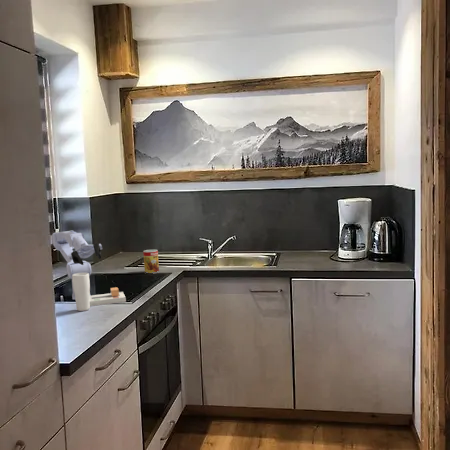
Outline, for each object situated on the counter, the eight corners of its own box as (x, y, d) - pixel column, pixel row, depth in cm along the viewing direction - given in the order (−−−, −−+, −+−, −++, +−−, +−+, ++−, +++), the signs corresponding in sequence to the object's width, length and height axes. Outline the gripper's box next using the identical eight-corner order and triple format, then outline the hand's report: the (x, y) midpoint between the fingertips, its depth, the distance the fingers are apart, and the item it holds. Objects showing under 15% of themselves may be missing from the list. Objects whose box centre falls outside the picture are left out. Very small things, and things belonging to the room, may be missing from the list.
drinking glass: (93, 307, 226) (90, 272, 224) (89, 311, 219) (86, 275, 218) (77, 308, 226) (74, 273, 224) (73, 312, 219) (70, 276, 218)
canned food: (156, 273, 291) (155, 251, 290) (142, 273, 293) (141, 252, 291) (161, 270, 299) (159, 249, 297) (147, 270, 300) (146, 249, 299)
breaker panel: (86, 300, 238) (86, 295, 238) (123, 296, 243) (122, 291, 243) (87, 306, 228) (87, 301, 228) (125, 301, 232) (125, 296, 232)
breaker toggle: (111, 293, 238) (110, 288, 238) (117, 293, 239) (117, 287, 239) (112, 296, 233) (111, 290, 233) (118, 295, 234) (118, 289, 234)
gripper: (63, 244, 231) (71, 257, 220) (95, 233, 237) (105, 245, 226) (67, 258, 234) (75, 271, 223) (99, 247, 240) (109, 259, 229)
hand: (91, 259), depth 225 cm, fingers open, 7 cm apart
